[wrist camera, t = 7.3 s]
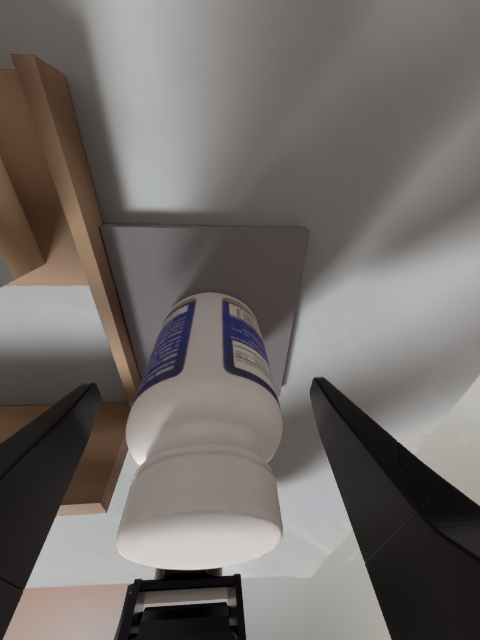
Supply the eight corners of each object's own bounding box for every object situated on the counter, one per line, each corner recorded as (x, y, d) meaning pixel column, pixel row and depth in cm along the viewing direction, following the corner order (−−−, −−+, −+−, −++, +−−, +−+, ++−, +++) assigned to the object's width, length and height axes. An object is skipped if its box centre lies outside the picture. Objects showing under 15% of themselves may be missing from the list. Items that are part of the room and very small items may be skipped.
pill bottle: (173, 370, 14) (120, 586, 7) (153, 293, 12) (28, 513, 4) (259, 364, 15) (299, 567, 7) (260, 286, 12) (326, 485, 4)
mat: (277, 389, 17) (279, 396, 16) (149, 393, 16) (147, 400, 16) (305, 227, 11) (309, 230, 10) (105, 223, 10) (99, 226, 10)
